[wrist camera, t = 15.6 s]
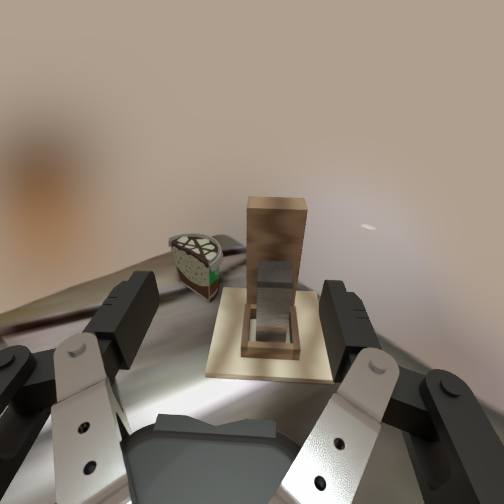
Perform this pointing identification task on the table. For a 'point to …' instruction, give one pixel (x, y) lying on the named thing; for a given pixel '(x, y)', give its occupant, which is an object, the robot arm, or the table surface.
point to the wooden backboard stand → (245, 306)
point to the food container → (197, 263)
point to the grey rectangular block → (273, 300)
